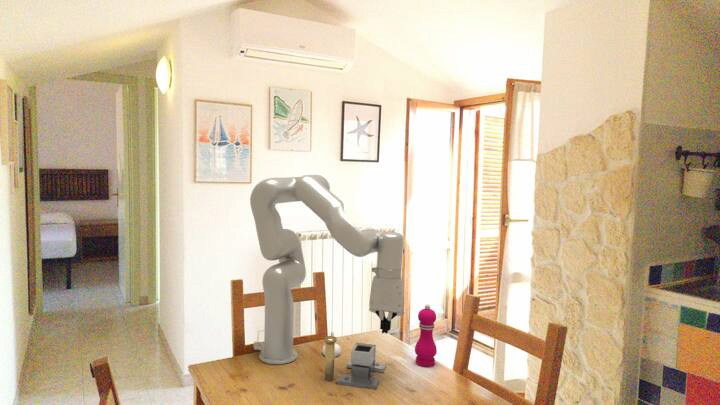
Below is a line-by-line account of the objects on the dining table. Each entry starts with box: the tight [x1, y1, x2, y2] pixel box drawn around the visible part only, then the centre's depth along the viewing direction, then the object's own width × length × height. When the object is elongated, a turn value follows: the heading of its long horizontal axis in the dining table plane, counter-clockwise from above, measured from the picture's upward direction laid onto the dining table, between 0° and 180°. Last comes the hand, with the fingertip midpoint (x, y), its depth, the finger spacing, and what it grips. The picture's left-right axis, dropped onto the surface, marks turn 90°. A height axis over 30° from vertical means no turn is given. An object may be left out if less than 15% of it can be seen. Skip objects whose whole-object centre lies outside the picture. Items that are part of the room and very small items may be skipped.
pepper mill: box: [414, 303, 437, 368], centre depth 162 cm, size 7×7×20 cm
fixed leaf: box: [336, 361, 380, 390], centre depth 150 cm, size 12×11×4 cm
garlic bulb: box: [321, 331, 342, 358], centre depth 168 cm, size 6×6×8 cm
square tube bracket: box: [346, 342, 387, 373], centre depth 155 cm, size 12×12×8 cm
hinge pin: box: [323, 335, 338, 382], centre depth 148 cm, size 4×4×13 cm
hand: (385, 331), depth 150 cm, fingers closed
